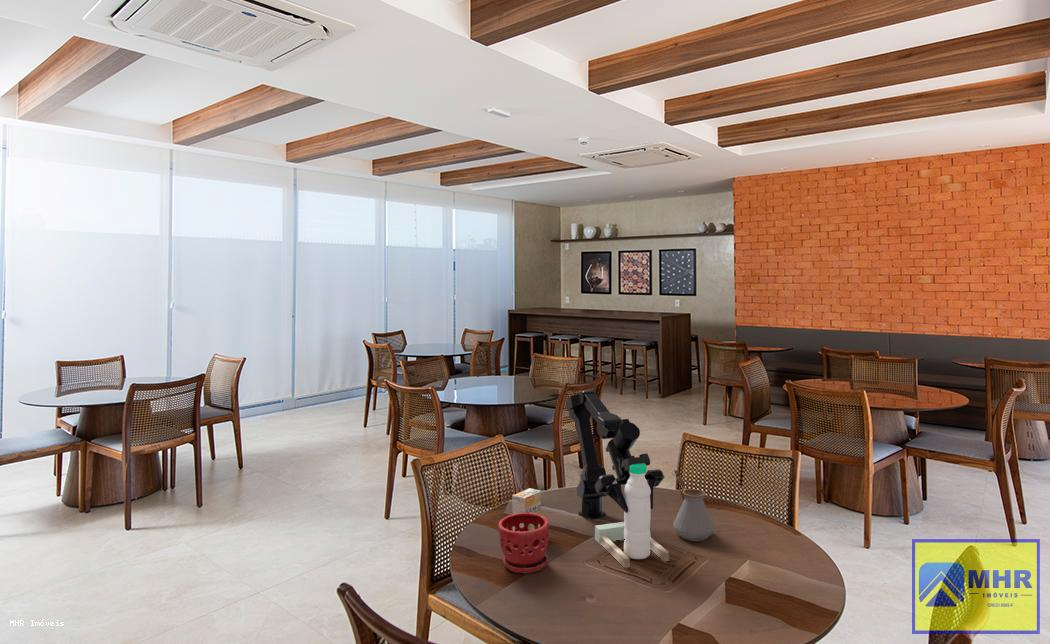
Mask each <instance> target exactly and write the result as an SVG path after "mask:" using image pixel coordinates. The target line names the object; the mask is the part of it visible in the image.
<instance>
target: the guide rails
mask: <svg viewBox="0 0 1050 644" xmlns="http://www.w3.org/2000/svg"><path fill="white" fill-rule="evenodd" d="M598 544H599V545H600V546H601V545H602V546H603V547H604V548H605V549H606V550H607V551H608V552H609V553H610V554H611V555H612V556H613V557H614V558H615V559H616V560H617V561H618V562H619V563H620V564H621V565H622V566H623V567H630V565H631V563H630V559H631V558H630V557H628V556H627V555H626V554H625V553H624V551H622V549H620V548H619V547H618V545H616V544H615V543H614V541H613V542H612V541H611V540H610V539H609V538H608V537H606V536H605V535H604V534H602V535H599V543H598ZM602 546H601V547H602ZM603 547H602V548H603ZM604 548H603V549H604ZM605 549H604V550H605ZM606 550H605V551H606ZM650 550H652V551H653V552H654V553H655V554H656V555H657V556H658V557H660V558H661V559H662V560H663V561H669V562H670V552H669V551H668V549H666V548H664V547H663V546H662V545H661V544H660V543H659V542H657V541H656V540H655V539H654V538H653V537H651V536H650ZM607 551H606V552H607ZM608 552H607V553H608ZM653 552H652V553H653ZM609 553H608V554H609ZM654 553H653V554H654ZM610 554H609V555H610ZM655 554H654V555H655ZM611 555H610V556H611ZM656 555H655V556H656ZM612 556H611V557H612ZM657 556H656V557H657ZM613 557H612V558H613ZM658 557H657V558H658ZM614 558H613V559H614ZM615 559H614V560H615ZM661 559H660V560H661ZM616 560H615V561H616ZM662 560H661V561H662ZM617 561H616V562H617ZM663 561H662V562H663ZM618 562H617V563H618ZM619 563H618V564H619ZM620 564H619V565H620ZM621 565H620V566H621ZM622 566H621V567H622ZM623 567H622V568H623ZM630 568H631V567H630Z"/></svg>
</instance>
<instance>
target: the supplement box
mask: <svg viewBox="0 0 1050 644" xmlns="http://www.w3.org/2000/svg"><path fill="white" fill-rule="evenodd" d="M511 497H512V499H511V500H512V503H511V504H512V515H513V514H518V513H534V514H539V515H542V491H541V490H539V489H535V488H530V487H529V488H527V489H524V490H522V491H519V492H517V493H514V494H512V496H511ZM519 526H520V527H521V528H522V527H524V524H523V523H521V524H520V525H519ZM538 527H539V528H540V527H541V526H540V524H538ZM528 529H529V530H530V531H532V530H535V527H534V525H533V524H529V525H528ZM514 530H515V527H514V526H513V527H512V531H514ZM517 532H519V531H517Z"/></svg>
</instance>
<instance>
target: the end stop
mask: <svg viewBox="0 0 1050 644" xmlns="http://www.w3.org/2000/svg"><path fill="white" fill-rule="evenodd" d="M624 528H625V524H624V521H621V522H620V521H619V522H613V523H605V524H598V525H594V540H595V541H596V542H597V543H598V544H599V535H602V534H604V535H605V536H606V537H608V538H609V539H610V540H611V541H613V542H617V541H616V540H620V541H625V540H624Z"/></svg>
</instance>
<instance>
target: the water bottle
mask: <svg viewBox="0 0 1050 644" xmlns="http://www.w3.org/2000/svg"><path fill="white" fill-rule="evenodd" d="M647 467H648V466H646V464H644V463H641V464H633V465H630V470H629V473H630V477H629V479H628V481H627V483H626V485H624V488H623V493H624V499H625V502H626V504H627V508H628V512H627V513H625V511H624V510H623V517H624V518H623V520H624V521H623V522H624V524H625V528H624V539H625V540H623V541H624V542H623V553H624V554H625V555H626V556H627V557H629V558H630V559H633V560H644V559H647V558H648V557H650V555H651V551H650V537H651V529H650V528H651V511H652V510H651V505H650V494H651V490H650V487H649V485H648V483H647V480H646V478H645V474H646V473H647V471H648V469H647Z"/></svg>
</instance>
